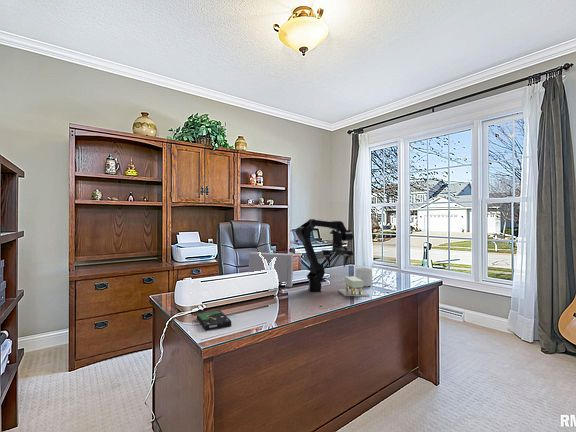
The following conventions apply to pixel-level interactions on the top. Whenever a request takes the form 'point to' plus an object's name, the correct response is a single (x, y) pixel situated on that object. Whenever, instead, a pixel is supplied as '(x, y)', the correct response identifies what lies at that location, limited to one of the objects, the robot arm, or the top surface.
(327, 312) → the top surface
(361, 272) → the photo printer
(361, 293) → the chassis
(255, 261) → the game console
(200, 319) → the disk drive
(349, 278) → the pale green block
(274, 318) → the top surface
